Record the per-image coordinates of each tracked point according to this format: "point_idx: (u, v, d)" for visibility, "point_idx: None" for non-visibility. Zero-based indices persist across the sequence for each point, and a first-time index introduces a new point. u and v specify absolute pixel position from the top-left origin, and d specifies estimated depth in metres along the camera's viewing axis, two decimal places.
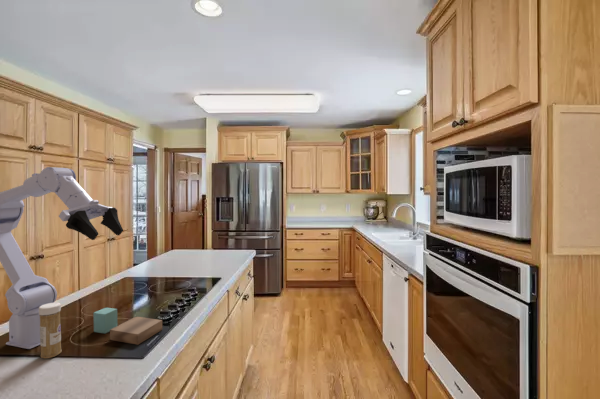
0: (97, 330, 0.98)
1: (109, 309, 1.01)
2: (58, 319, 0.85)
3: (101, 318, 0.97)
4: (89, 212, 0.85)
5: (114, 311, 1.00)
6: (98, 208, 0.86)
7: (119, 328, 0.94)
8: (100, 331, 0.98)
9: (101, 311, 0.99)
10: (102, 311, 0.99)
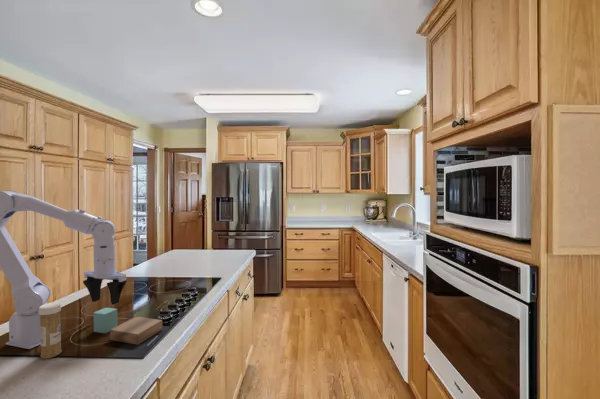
0: (97, 330, 0.98)
1: (109, 309, 1.01)
2: (58, 319, 0.85)
3: (101, 318, 0.97)
4: None
5: (114, 311, 1.00)
6: None
7: (119, 328, 0.94)
8: (100, 331, 0.98)
9: (101, 311, 0.99)
10: (102, 311, 0.99)
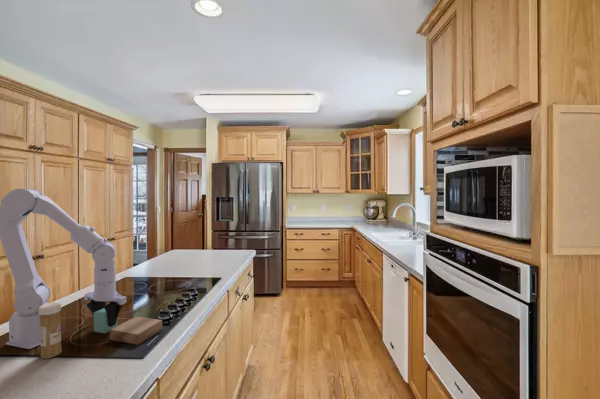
0: (97, 330, 0.98)
1: None
2: (58, 319, 0.85)
3: (101, 318, 0.97)
4: None
5: None
6: None
7: (119, 328, 0.94)
8: (100, 331, 0.98)
9: (101, 311, 0.99)
10: (102, 311, 0.99)
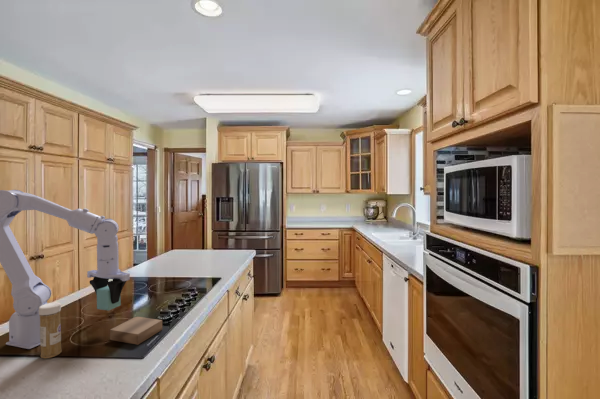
0: (100, 307, 0.97)
1: None
2: (58, 319, 0.85)
3: (104, 295, 0.97)
4: None
5: None
6: None
7: (119, 328, 0.94)
8: (103, 308, 0.97)
9: (104, 288, 0.98)
10: (105, 288, 0.99)
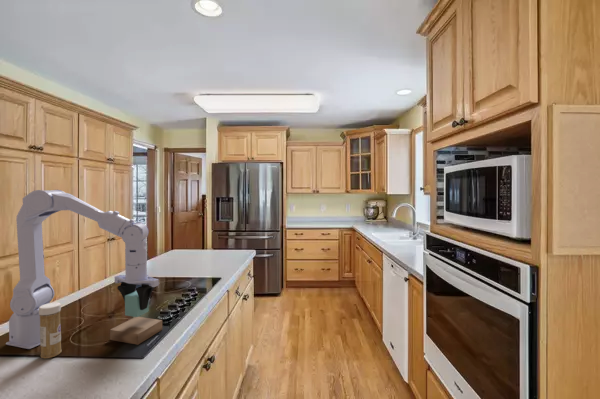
0: (128, 314, 0.95)
1: None
2: (58, 319, 0.85)
3: (133, 301, 0.94)
4: None
5: None
6: None
7: (119, 328, 0.94)
8: (132, 314, 0.94)
9: (132, 294, 0.95)
10: (133, 294, 0.96)
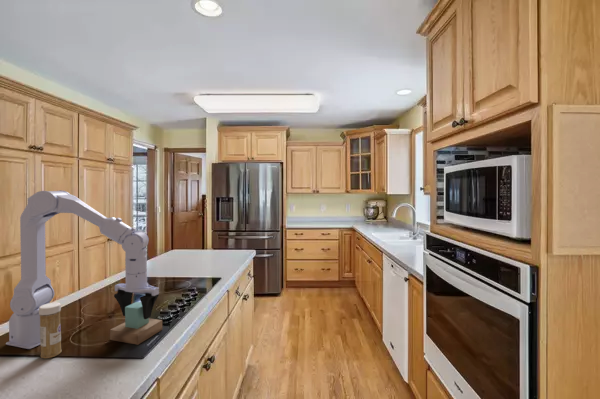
0: (128, 325, 0.95)
1: (140, 304, 0.97)
2: (58, 319, 0.85)
3: (133, 312, 0.94)
4: None
5: None
6: None
7: (119, 328, 0.94)
8: (132, 326, 0.94)
9: (132, 306, 0.95)
10: (133, 305, 0.96)
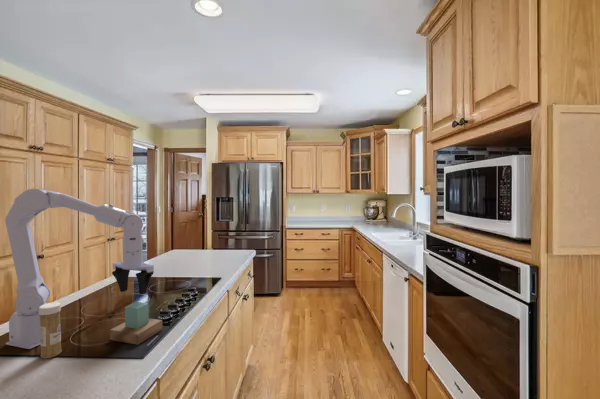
0: (128, 325, 0.95)
1: (140, 304, 0.97)
2: (58, 319, 0.85)
3: (133, 312, 0.94)
4: None
5: (146, 305, 0.97)
6: None
7: (119, 328, 0.94)
8: (132, 326, 0.94)
9: (132, 306, 0.95)
10: (133, 305, 0.96)
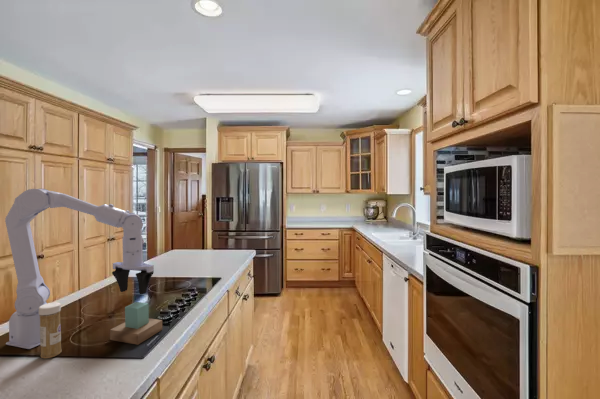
0: (128, 325, 0.95)
1: (140, 304, 0.97)
2: (58, 319, 0.85)
3: (133, 312, 0.94)
4: None
5: (146, 305, 0.97)
6: None
7: (119, 328, 0.94)
8: (132, 326, 0.94)
9: (132, 306, 0.95)
10: (133, 305, 0.96)
